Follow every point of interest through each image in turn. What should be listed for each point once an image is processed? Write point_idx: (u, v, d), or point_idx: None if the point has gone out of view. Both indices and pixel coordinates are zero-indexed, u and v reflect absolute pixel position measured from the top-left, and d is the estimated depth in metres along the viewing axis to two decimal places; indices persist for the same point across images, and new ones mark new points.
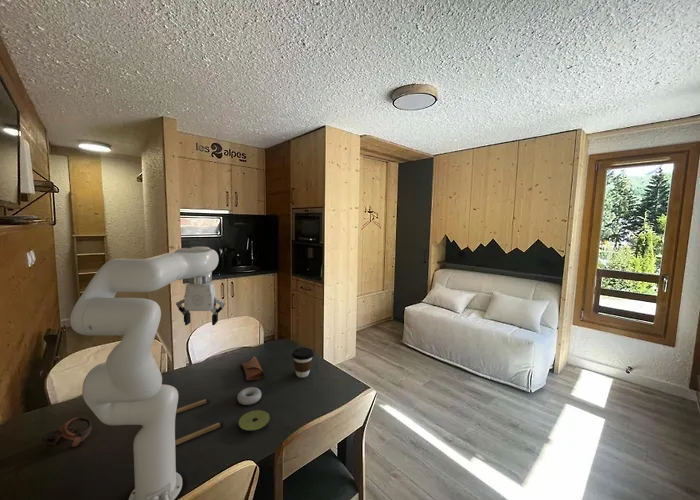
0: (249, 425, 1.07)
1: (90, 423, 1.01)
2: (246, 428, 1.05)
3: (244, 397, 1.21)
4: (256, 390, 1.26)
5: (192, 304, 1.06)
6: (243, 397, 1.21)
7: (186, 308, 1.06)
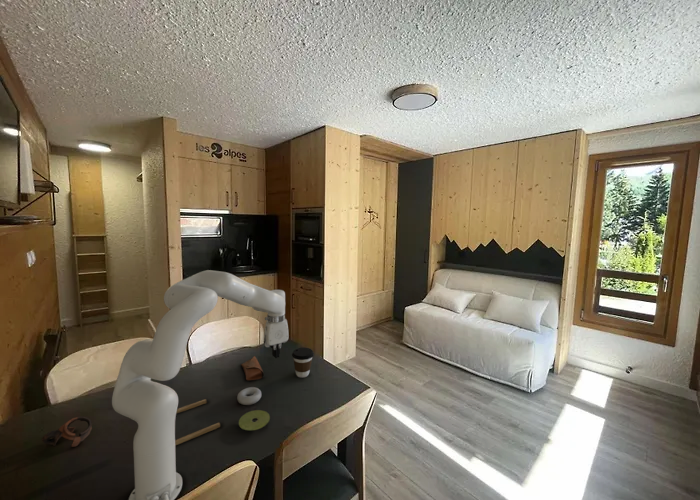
0: (249, 425, 1.07)
1: (90, 423, 1.01)
2: (246, 428, 1.05)
3: (244, 397, 1.21)
4: (256, 390, 1.26)
5: (275, 339, 1.27)
6: (243, 397, 1.21)
7: (270, 343, 1.26)
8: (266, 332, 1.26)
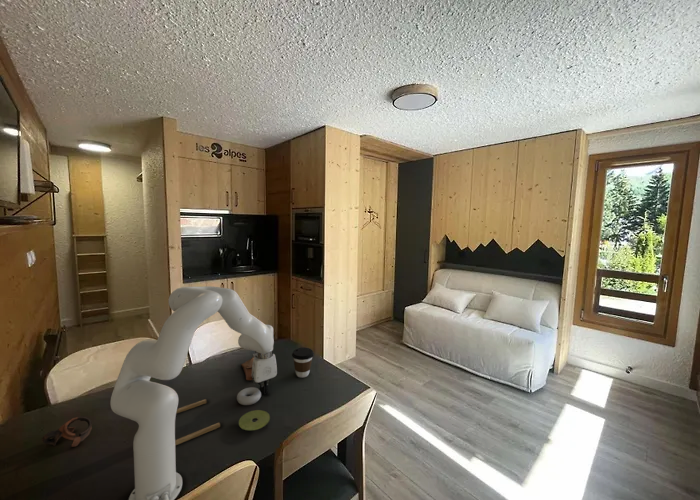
0: (249, 425, 1.07)
1: (90, 423, 1.01)
2: (246, 428, 1.05)
3: (244, 397, 1.21)
4: (256, 390, 1.26)
5: (262, 376, 1.25)
6: (242, 397, 1.21)
7: (257, 381, 1.24)
8: (253, 369, 1.24)
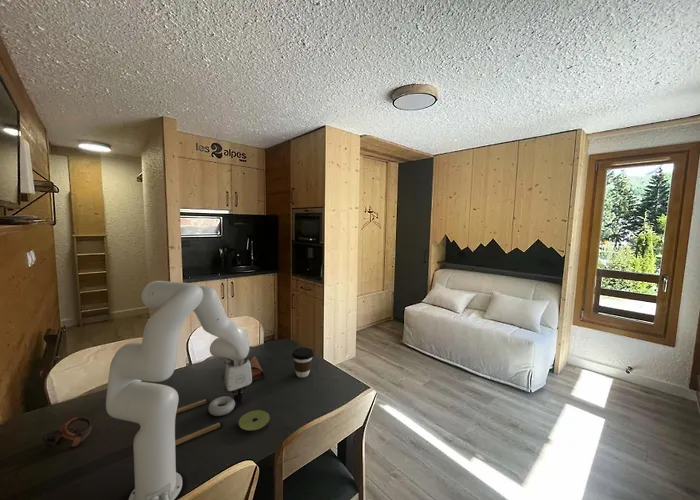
0: (249, 425, 1.07)
1: (90, 423, 1.01)
2: (246, 428, 1.05)
3: (215, 408, 1.14)
4: (229, 399, 1.19)
5: (235, 384, 1.18)
6: (214, 408, 1.14)
7: (230, 389, 1.16)
8: (226, 377, 1.17)
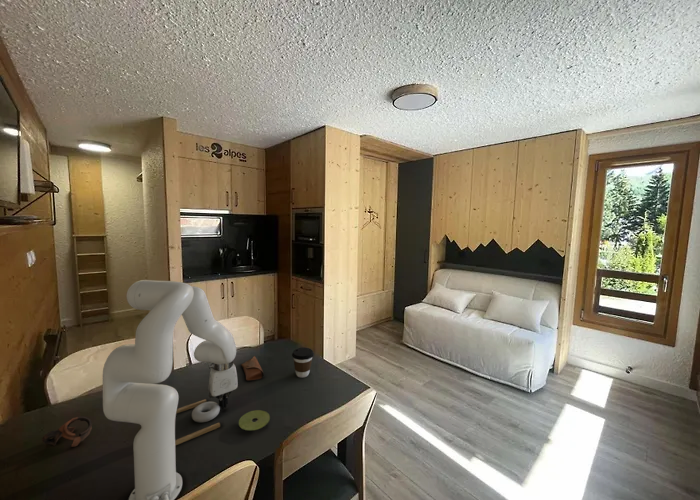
0: (249, 425, 1.07)
1: (90, 423, 1.01)
2: (246, 428, 1.05)
3: (199, 414, 1.10)
4: (214, 405, 1.15)
5: (220, 389, 1.14)
6: (197, 414, 1.10)
7: (214, 394, 1.13)
8: (210, 381, 1.13)
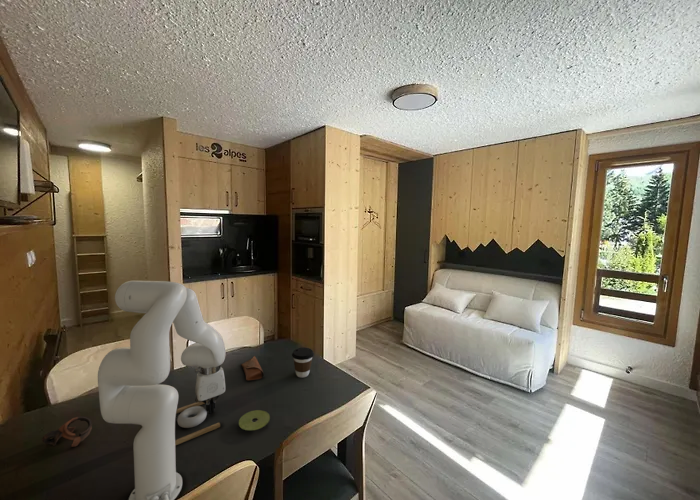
0: (249, 425, 1.07)
1: (90, 423, 1.01)
2: (246, 428, 1.05)
3: (185, 419, 1.07)
4: (200, 410, 1.12)
5: (207, 393, 1.11)
6: (183, 419, 1.07)
7: (201, 399, 1.09)
8: (196, 386, 1.10)
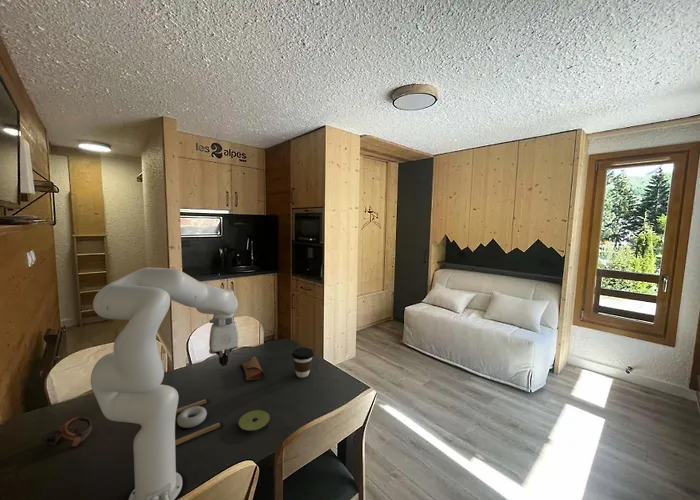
0: (249, 425, 1.07)
1: (90, 423, 1.01)
2: (246, 428, 1.05)
3: (184, 419, 1.07)
4: (200, 410, 1.12)
5: (220, 344, 1.13)
6: (183, 419, 1.07)
7: (215, 349, 1.12)
8: (210, 336, 1.12)
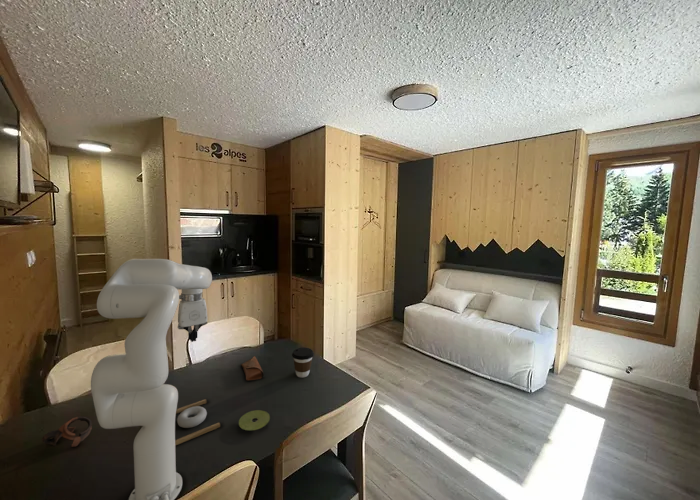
0: (249, 425, 1.07)
1: (90, 423, 1.01)
2: (246, 428, 1.05)
3: (184, 419, 1.07)
4: (200, 410, 1.12)
5: (189, 320, 1.15)
6: (183, 419, 1.07)
7: (183, 325, 1.13)
8: (179, 312, 1.14)
